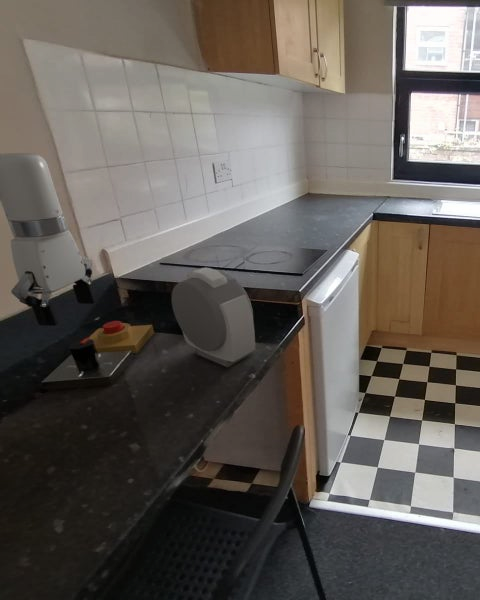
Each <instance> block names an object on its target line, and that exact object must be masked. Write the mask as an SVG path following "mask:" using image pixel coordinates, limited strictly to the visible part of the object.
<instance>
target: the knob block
mask: <svg viewBox="0 0 480 600" xmlns="http://www.w3.org/2000/svg"><path fill="white" fill-rule="evenodd" d="M122 326H123V330H122V331H120V332H117V333H113V334H105V332H104V329H103V327H100V328H98V329H96V330H95V331H93V333H92V334H90V335H89V336H88V338H89V339H91V340H93V341H94V344H95V347H96V349H97V352H98V353H104V352H117V351H130V350H131V351H132V355H134V354H138V353H139V352H140V351H141V350H142V348H143V347H144V346H145V344H146V343H148V341H149V339H151V337H152V336H153V334H155V330H154V327H153V324H145V325H144V324H143V325H141V324H140V325H131V324H130V323H125V322H122Z"/></svg>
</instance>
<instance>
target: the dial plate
mask: <svg viewBox="0 0 480 600" xmlns="http://www.w3.org/2000/svg"><path fill="white" fill-rule="evenodd" d="M98 355H99V358H100V361H101V363H100V364H99V365H98V366H96V367H94V368H92V369H88V370H78V369H77V367H76V364H75V361H74V359H73V356H72V354H70V355H69V356H68V357H67V358H66V359H65V360H64V361H63V362H61V363H60V364H58V366H57V367H56V368H55V369H54V370H52V372H51V373H49V375H47V377H45V378H44V379H43V380H41V385H42V387H43V389H44V391H55V390H67V389H78V388H88V387H98V386H111V385H113V384H114V383H115V382H116V380H117V379H118V378H119V377H120V376H121V374H122V373H123V372H124V371H125V370H126V368H127V367H128V365H130V363H131V362H132V361H133V360H134V354H132V351H131V350H130V351H117V352H104V353H98Z"/></svg>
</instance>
